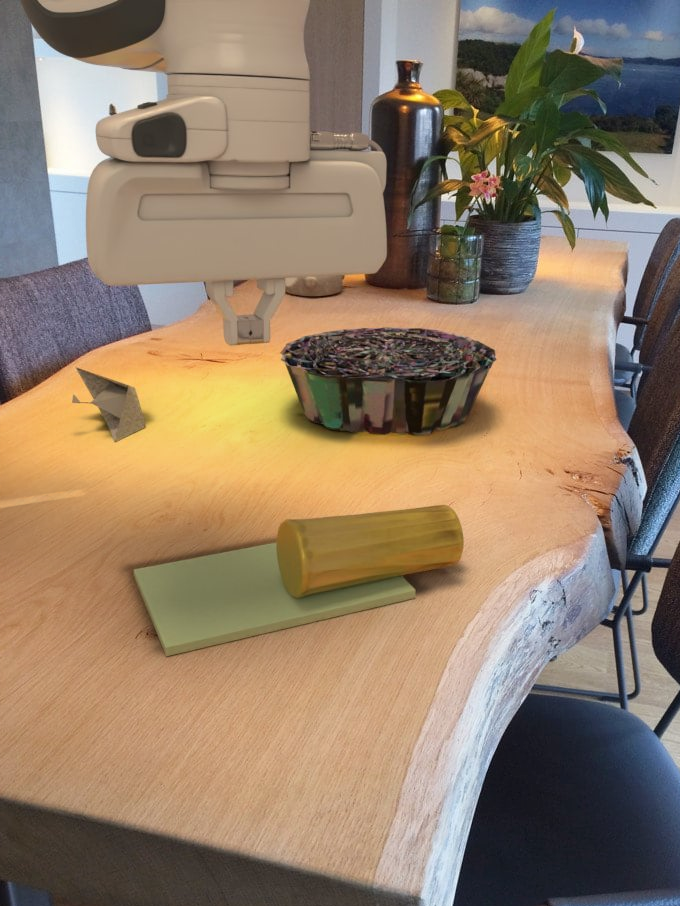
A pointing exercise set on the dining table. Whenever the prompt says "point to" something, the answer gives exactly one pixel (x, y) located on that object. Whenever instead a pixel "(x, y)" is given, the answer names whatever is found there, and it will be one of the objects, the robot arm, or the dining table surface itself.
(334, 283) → the dish
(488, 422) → the dining table surface
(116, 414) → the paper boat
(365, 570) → the vase
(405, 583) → the mat
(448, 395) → the decorative bowl
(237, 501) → the dining table surface
